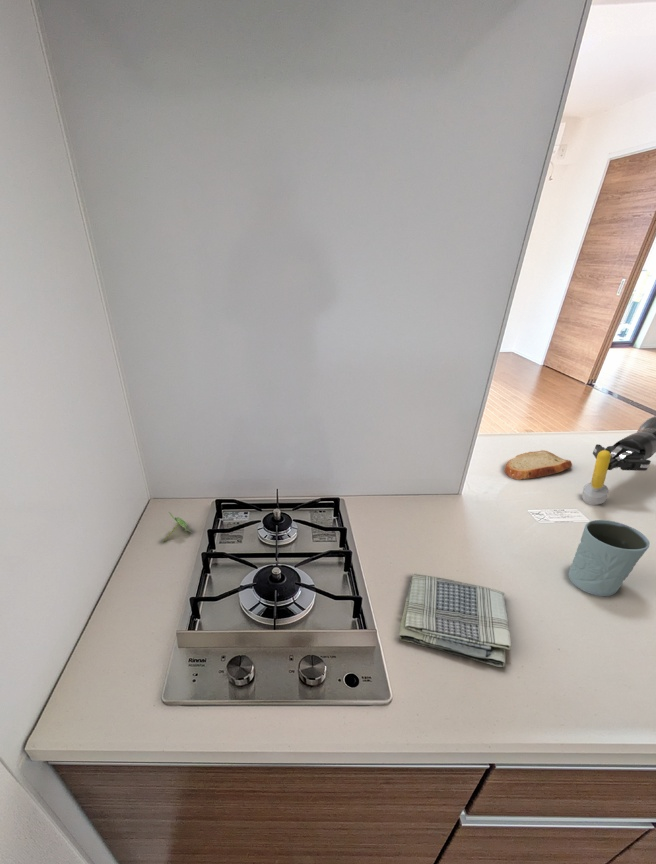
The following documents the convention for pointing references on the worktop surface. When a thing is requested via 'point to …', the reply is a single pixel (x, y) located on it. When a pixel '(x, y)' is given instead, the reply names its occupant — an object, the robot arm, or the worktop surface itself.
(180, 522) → the green hummingbird figurine
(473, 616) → the dish towel
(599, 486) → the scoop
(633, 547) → the blue-green plant pot
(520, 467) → the bread slice
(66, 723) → the worktop surface
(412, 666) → the worktop surface
